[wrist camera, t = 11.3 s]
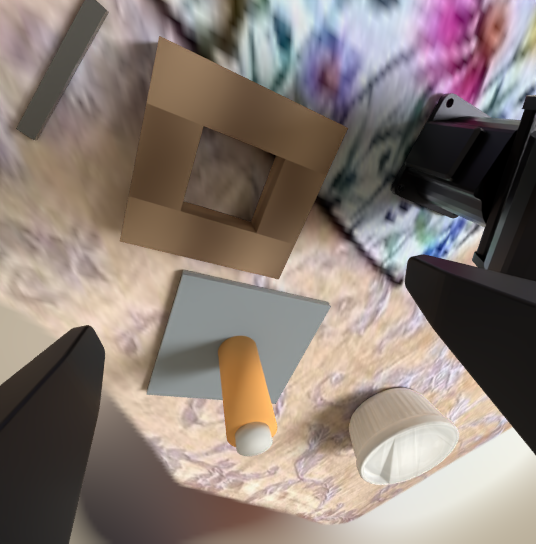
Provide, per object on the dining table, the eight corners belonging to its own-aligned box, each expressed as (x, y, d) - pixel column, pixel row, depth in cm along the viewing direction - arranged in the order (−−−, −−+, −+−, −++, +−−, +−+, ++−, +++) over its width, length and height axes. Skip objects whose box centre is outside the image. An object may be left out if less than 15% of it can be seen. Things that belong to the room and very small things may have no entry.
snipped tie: (90, -5, 13) (88, -7, 13) (108, 12, 14) (106, 10, 13) (19, 128, 15) (16, 129, 15) (37, 139, 15) (34, 140, 15)
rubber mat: (327, 302, 25) (330, 306, 25) (274, 398, 30) (275, 403, 30) (183, 269, 21) (183, 274, 20) (147, 388, 26) (146, 394, 25)
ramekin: (321, 421, 34) (341, 470, 30) (404, 364, 32) (438, 407, 28) (367, 450, 40) (389, 495, 35) (439, 403, 38) (472, 444, 33)
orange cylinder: (262, 338, 25) (288, 429, 18) (248, 366, 26) (268, 460, 19) (224, 333, 24) (238, 427, 17) (213, 362, 25) (221, 461, 18)
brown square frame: (333, 125, 18) (348, 127, 17) (272, 265, 22) (278, 279, 21) (163, 42, 15) (159, 36, 13) (126, 227, 19) (119, 241, 17)
